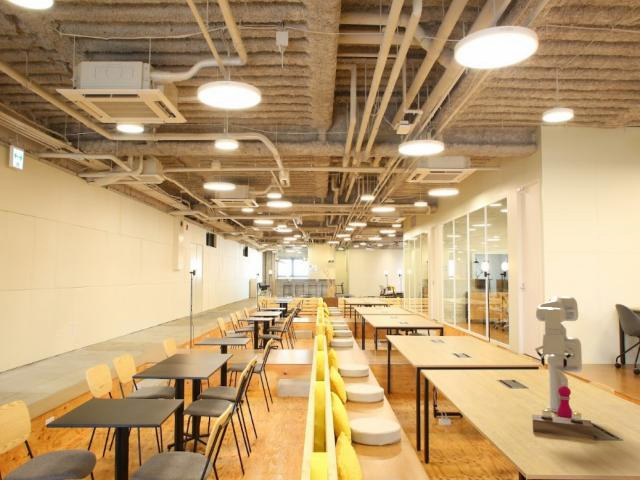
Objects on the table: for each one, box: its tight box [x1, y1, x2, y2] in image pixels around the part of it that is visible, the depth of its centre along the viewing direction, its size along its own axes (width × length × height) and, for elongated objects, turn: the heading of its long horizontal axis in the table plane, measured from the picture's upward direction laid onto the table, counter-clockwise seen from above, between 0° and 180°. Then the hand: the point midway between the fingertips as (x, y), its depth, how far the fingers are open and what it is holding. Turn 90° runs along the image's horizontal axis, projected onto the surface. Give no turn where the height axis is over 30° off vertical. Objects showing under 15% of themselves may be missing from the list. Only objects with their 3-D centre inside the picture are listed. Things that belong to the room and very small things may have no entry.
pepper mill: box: [556, 383, 573, 418], centre depth 250 cm, size 7×7×20 cm
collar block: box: [531, 413, 595, 441], centre depth 233 cm, size 10×26×6 cm, turn 68°
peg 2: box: [572, 411, 582, 424], centre depth 231 cm, size 4×4×4 cm
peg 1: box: [542, 408, 552, 420], centre depth 236 cm, size 4×4×4 cm
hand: (554, 366), depth 243 cm, fingers open, 9 cm apart
